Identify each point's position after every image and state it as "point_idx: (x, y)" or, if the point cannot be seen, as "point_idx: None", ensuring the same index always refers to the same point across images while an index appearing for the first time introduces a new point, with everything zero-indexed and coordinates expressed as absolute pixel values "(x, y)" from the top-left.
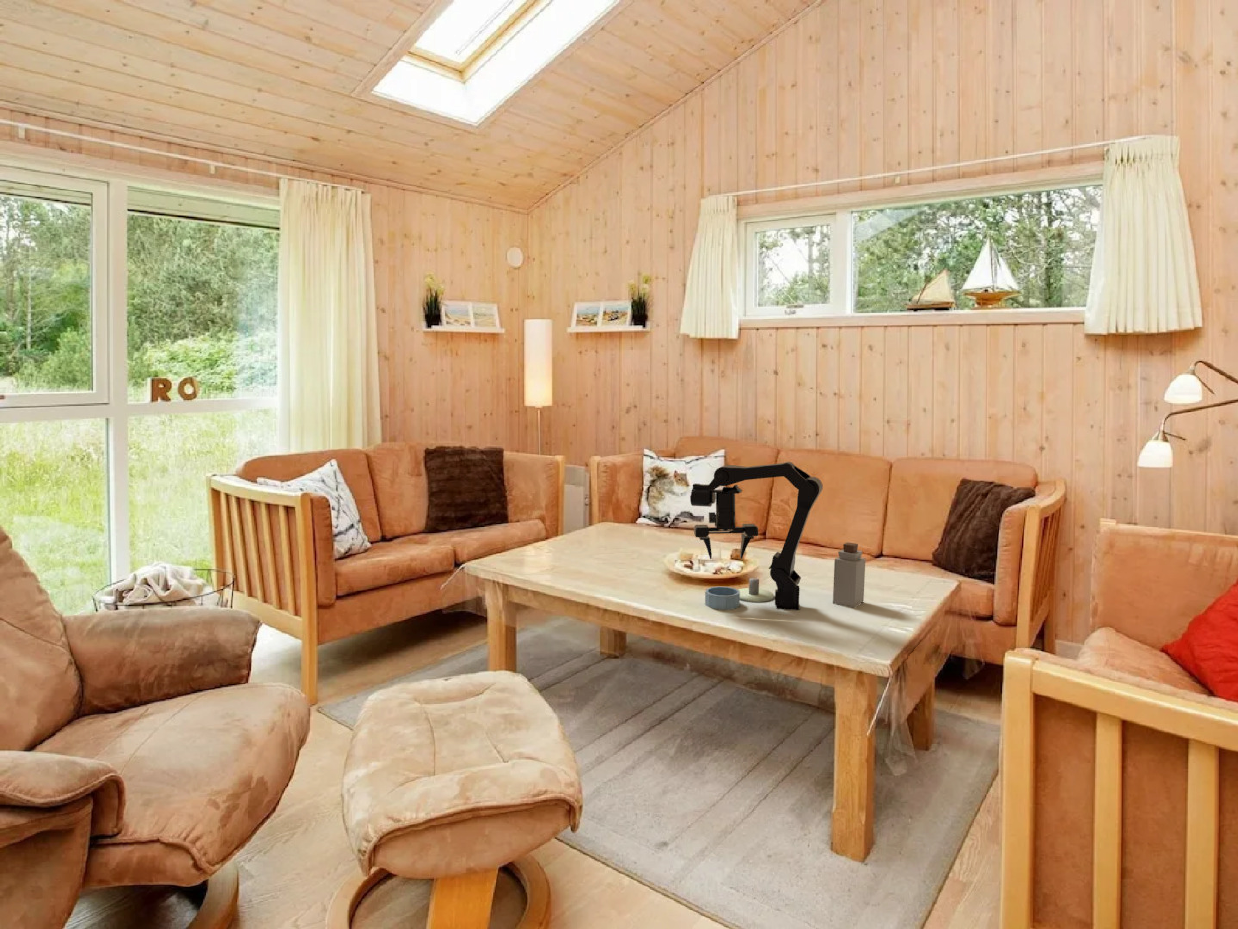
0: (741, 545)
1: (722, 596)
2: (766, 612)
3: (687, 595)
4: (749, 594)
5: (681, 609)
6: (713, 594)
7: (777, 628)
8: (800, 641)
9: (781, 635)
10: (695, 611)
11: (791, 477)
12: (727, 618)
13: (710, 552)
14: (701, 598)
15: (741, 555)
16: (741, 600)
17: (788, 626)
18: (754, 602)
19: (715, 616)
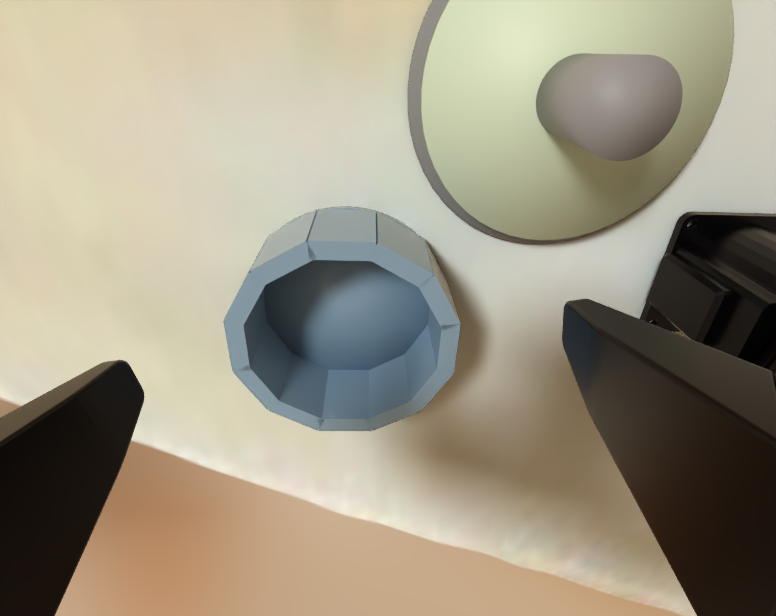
0: (701, 479)
1: (350, 429)
2: (570, 367)
3: (80, 131)
4: (536, 127)
5: (151, 392)
6: (293, 411)
7: (564, 511)
8: (604, 578)
9: (559, 554)
10: (226, 405)
11: None
12: (381, 457)
13: (87, 512)
14: (199, 188)
15: (586, 390)
16: (464, 215)
17: (612, 491)
18: (541, 243)
19: (328, 446)
